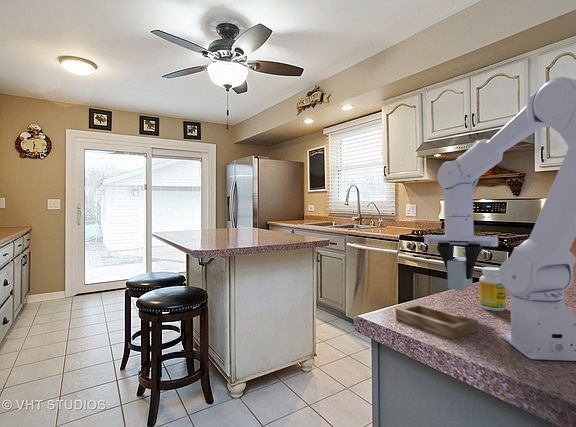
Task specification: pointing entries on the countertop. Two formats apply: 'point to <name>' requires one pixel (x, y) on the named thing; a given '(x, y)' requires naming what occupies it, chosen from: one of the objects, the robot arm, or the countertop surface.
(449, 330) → the wooden tray
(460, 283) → the grey rectangular block
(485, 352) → the countertop surface
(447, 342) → the countertop surface
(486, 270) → the supplement bottle
